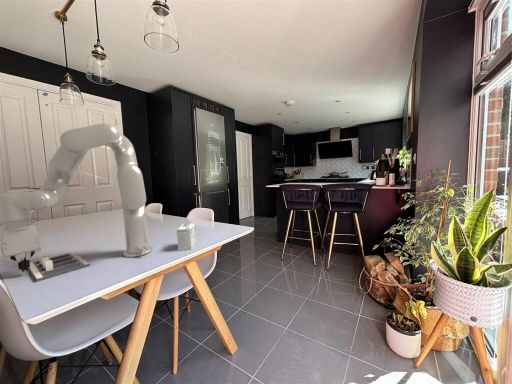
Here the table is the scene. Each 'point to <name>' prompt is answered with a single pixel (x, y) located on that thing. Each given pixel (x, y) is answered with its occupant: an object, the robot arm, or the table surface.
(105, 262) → the table surface
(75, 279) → the table surface
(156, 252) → the table surface
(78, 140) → the robot arm
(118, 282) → the table surface
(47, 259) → the tab
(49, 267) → the tab
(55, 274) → the switch board
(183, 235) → the light bulb box
